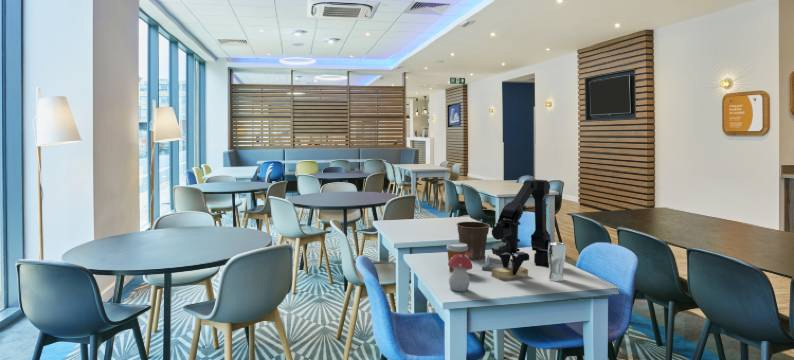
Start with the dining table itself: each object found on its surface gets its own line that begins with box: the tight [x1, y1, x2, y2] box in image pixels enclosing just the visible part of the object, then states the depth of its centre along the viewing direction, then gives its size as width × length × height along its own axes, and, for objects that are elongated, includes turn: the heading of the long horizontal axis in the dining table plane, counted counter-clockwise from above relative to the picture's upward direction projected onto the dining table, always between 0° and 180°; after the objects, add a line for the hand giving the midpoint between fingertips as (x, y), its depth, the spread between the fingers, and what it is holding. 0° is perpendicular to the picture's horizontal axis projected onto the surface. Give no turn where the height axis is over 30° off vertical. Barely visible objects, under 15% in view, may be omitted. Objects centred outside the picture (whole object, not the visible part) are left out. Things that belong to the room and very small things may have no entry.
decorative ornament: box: [447, 252, 473, 293], centre depth 184 cm, size 9×6×15 cm
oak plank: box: [491, 265, 529, 281], centre depth 204 cm, size 14×6×3 cm, turn 111°
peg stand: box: [481, 254, 512, 272], centre depth 215 cm, size 15×7×6 cm, turn 76°
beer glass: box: [547, 241, 567, 282], centre depth 199 cm, size 7×7×15 cm
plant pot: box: [456, 221, 491, 260], centre depth 237 cm, size 16×16×16 cm
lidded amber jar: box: [446, 242, 468, 273], centre depth 210 cm, size 10×10×12 cm
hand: (509, 272), depth 204 cm, fingers closed on oak plank, 6 cm apart
